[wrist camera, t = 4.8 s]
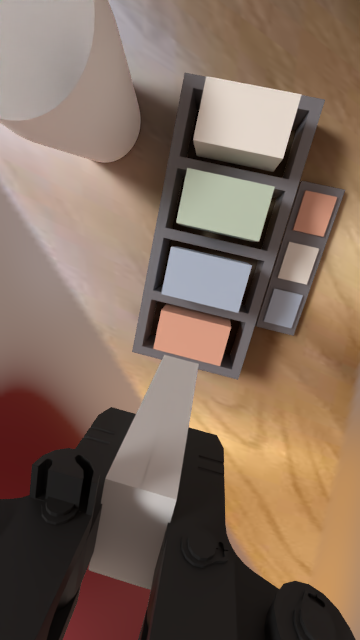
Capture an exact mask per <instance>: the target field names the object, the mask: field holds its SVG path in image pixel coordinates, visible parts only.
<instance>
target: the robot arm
mask: <svg viewBox="0 0 360 640" xmlns="http://www.w3.org/2000/svg"><path fill="white" fill-rule="evenodd" d="M198 366H199V364H198V363H194V362H190V361H186V360H182V359H178V358H175V357H171V356H167V355H164V357H163V359H162V361H161V363H160V365H159V367H158V369H157V371H156V373H155V376H154V378H153V380H152V382H151V384H150V386H149V388H148V390H147V392H146V394H145V396H144V399H143V401H142V403H141V405H140V407H139V409H138V411H137V413H136V414H134V413H130V412H126V411H123V410H119V409H115V408H112V407H111V408H109V409H108V410H106V411H104V412H103V413H101V414H99V415H98V417H97V418H96V420H95V421H94V422H93V424H92V426H91V428H89V430H88V431H87V433H86V434H85V436H84V438H82V440H81V441H80V443H79V444H78V446H77V447H76V449H70V448H67V449H60V450H55V451H52V452H50V453H48V454H45V455H43V456H42V457H41V458H39V459H38V460H37V461H36V462H35V463H34V464H32V473H31V485H30V495H29V496H26V497H23V498H15V499H0V640H63V637H64V634H65V632H66V629H67V627H68V624H69V622H70V619H71V617H72V614H73V611H74V608H75V606H76V604H77V600H78V596H79V591H80V586H81V582H82V580H83V577H84V575H85V572H86V570H87V567H88V565H89V562H90V565H89V570H90V571H93V572H96V573H99V574H103V575H106V576H109V577H112V578H115V579H118V580H121V581H125V582H128V583H131V584H134V585H137V586H140V587H144V588H147V589H150V590H151V592H150V597H149V602H148V607H147V611H146V614H145V618H144V621H143V625H142V628H141V632H140V635H139V639H138V640H355V638H354V636H353V634H352V632H351V630H350V628H349V626H348V625H347V623H346V622H345V620H344V618H343V617H342V615H341V613H340V612H339V610H338V609H337V608H336V607H335V606H334V605H333V603H332V602H330V600H329V599H328V598H327V597H326V596H325V595H324V594H323V593H321V592H320V591H318V590H316V589H315V588H314V587H312V586H310V585H309V584H305V583H301V582H298V581H293V582H289V583H285V584H283V586H282V587H281V588H280V589H278V588H276V587H275V586H274V585H272V584H271V583H269V582H268V581H266V580H265V579H263V578H262V577H260V576H259V575H258V574H256V573H255V572H253V571H252V570H251V569H249V567H247V566H246V565H245V564H244V563H243V562H242V561H241V559H240V558H239V557H238V556H237V555H236V553H235V552H234V550H233V548H232V546H231V544H230V542H229V540H228V537H227V534H226V526H225V489H224V465H223V464H224V448H223V446H222V444H221V442H220V441H219V439H218V437H217V435H214V434H210V433H206V432H203V431H199V430H196V429H192V428H188V427H189V421H190V415H191V409H192V403H193V396H194V390H195V384H196V378H197V372H198Z"/></svg>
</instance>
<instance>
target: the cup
mask: <svg viewBox="0 0 360 640" xmlns="http://www.w3.org/2000/svg"><path fill="white" fill-rule="evenodd" d="M0 123H1V124H2V125H4V126H5V127H7V128H8V129H9V130H11V131H12V132H14V133H15V134H17V135H19V136H21V137H23V138H25V139H27V140H30V141H32V142H35V143H38V144H41V145H44V146H48V147H51V148H54V149H57V150H61V151H64V152H67V153H70V154H74V155H77V156H80V157H84V158H87V159H90V160H93V161H97V162H103V163H107V162H113V161H116V160H118V159H120V158H122V157H123V156H125V155H126V154H127V153H128V152H129V151H130V150H131V149H132V147H133V146H134V144H135V142H136V140H137V138H138V135H139V131H140V124H141V116H140V109H139V105H138V101H137V97H136V94H135V90H134V86H133V83H132V79H131V75H130V71H129V68H128V64H127V60H126V57H125V53H124V49H123V45H122V42H121V38H120V35H119V31H118V27H117V24H116V21H115V18H114V15H113V12H112V10H111V7H110V5H109V2H108V0H0Z"/></svg>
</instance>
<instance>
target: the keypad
mask: <svg viewBox="0 0 360 640" xmlns="http://www.w3.org/2000/svg"><path fill="white" fill-rule="evenodd" d="M205 80H206V77H205V76H199V75H194V74H189V73H185V74H184V79H183V85H182V90H181V95H180V101H179V106H178V111H177V117H176V122H175V127H174V132H173V138H172V143H171V148H170V154H169V159H168V164H167V170H166V175H165V180H164V186H163V191H162V196H161V202H160V207H159V212H158V218H157V223H156V228H155V233H154V239H153V244H152V249H151V255H150V260H149V265H148V271H147V276H146V281H145V287H144V292H143V297H142V303H141V308H140V313H139V319H138V324H137V329H136V335H135V340H134V345H133V350H132V352H135V353H138V354H142V355H146V356H150V357H154V358H158V359H161V360H162V359H163V357H164V355H167V356H171V357H175V358H178V359H182V360H186V361H190V362H194V363H198V364H199V366H198V369H200V370H203V371H207V372H211V373H215V374H219V375H223V376H226V377H230V378H234V379H238V378H239V375H240V372H241V369H242V365H243V362H244V359H245V356H246V352H247V349H248V346H249V343H250V340H251V336H252V333H253V330H254V327H255V324H256V320H257V317H258V314H259V311H260V307H261V304H262V301H263V298H264V295H265V291H266V288H267V285H268V282H269V278H270V275H271V272H272V269H273V266H274V262H275V259H276V256H277V253H278V250H279V246H280V243H281V240H282V237H283V233H284V230H285V227H286V224H287V221H288V217H289V214H290V211H291V208H292V204H293V201H294V198H295V195H296V192H297V188H298V185H299V182H300V179H301V175H302V172H303V169H304V166H305V163H306V159H307V156H308V153H309V150H310V147H311V143H312V140H313V137H314V134H315V130H316V127H317V124H318V121H319V118H320V114H321V111H322V108H323V105H324V101H325V100H324V99H319V98H314V97H309V96H303V95H301V98H300V102H299V105H298V109H297V112H296V115H295V119H294V122H293V126H292V129H294V130H296V133H295V136H294V140H293V143H292V146H291V150H290V153H289V157H288V160H287V163H286V167H285V170H284V174H283V177H282V178H279V177H274V176H270V175H265V174H260V173H256V172H251V171H246V170H242V169H237V168H232V167H227V166H223V165H218V164H213V163H209V162H204V161H199V160H194V159H190V158H187V154H188V150H189V145H190V140H191V135H192V130H193V125H194V120H195V115H196V110H199V109H200V104H201V99H202V94H203V89H204V85H205ZM187 168H190V169H195V170H200V171H204V172H209V173H214V174H218V175H223V176H228V177H232V178H237V179H242V180H246V181H251V182H256V183H260V184H265V185H269V186H274V187H275V188H274V191H273V195H272V197H273V198H276V201H275V204H274V208H273V211H272V214H271V218H270V221H269V225H268V228H267V231H266V235H265V238H264V242H263V245H262V248H261V249H256V248H252V247H248V246H243V245H239V244H235V243H230V242H226V241H222V240H217V239H213V238H208V237H204V236H200V235H195V234H191V233H187V232H182V231H178V230H174V229H172V228H173V223H174V218H175V213H176V208H177V203H178V199H179V194H180V189H181V184H182V179H183V178H185V177H186V172H187ZM170 239H172V240H176V241H180V242H185V243H189V244H193V245H198V246H202V247H206V248H210V249H215V250H219V251H223V252H228V253H232V254H236V255H241V256H245V257H249V258H253V259H258V262H257V265H256V269H255V272H254V276H253V279H252V282H251V286H250V289H249V293H248V296H247V300H246V303H245V305H240V309H239V312H238V313H236V312H232V311H228V310H224V309H220V308H216V307H212V306H208V305H204V304H200V303H196V302H192V301H187V300H183V299H179V298H175V297H171V296H167V295H163V294H161V293H162V288H163V285H161V282H162V277H163V272H164V267H165V262H166V257H167V252H168V248H169V243H170ZM157 301H160V302H164V303H169V304H173V305H177V306H181V307H185V308H189V309H193V310H197V311H201V312H205V313H209V314H213V315H217V316H221V317H225V318H229V319H233V320H237V321H240V323H239V327H238V330H237V334H236V337H235V340H234V344H233V347H232V351H231V354H230V355H228V354H223V358H222V361H221V365H220V366H217V365H213V364H210V363H206V362H202V361H198V360H194V359H190V358H187V357H183V356H179V355H175V354H171V353H167V352H163V351H160V350H156V349H153V347H154V343H155V338H156V336H154V335H151V331H152V326H153V321H154V316H155V311H156V306H157Z"/></svg>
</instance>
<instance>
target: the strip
mask: <svg viewBox="0 0 360 640" xmlns="http://www.w3.org/2000/svg"><path fill="white" fill-rule="evenodd" d="M344 192H345V190H343V189H338V188H334V187H329V186H324V185H319V184H315V183H310V182H305V181H301V182H299V186H298V189H297V192H296V195H295V198H294V202H293V205H292V208H291V211H290V215H289V218H288V221H287V224H286V227H285V231H284V234H283V237H282V240H281V244H280V247H279V250H278V253H277V256H276V260H275V263H274V266H273V269H272V272H271V276H270V279H269V282H268V285H267V289H266V292H265V295H264V298H263V301H262V305H261V308H260V311H259V314H258V318H257V321H256V324H255V325H256V326H257V327H261V328H265V329H269V330H273V331H277V332H281V333H285V334H289V335H293V336H294V333H295V330H296V327H297V324H298V321H299V319H300V316H301V313H302V310H303V307H304V305H305V302H306V299H307V296H308V293H309V290H310V288H311V285H312V282H313V279H314V276H315V274H316V271H317V268H318V265H319V262H320V259H321V257H322V254H323V251H324V248H325V245H326V243H327V240H328V237H329V234H330V231H331V228H332V226H333V223H334V220H335V217H336V214H337V211H338V209H339V206H340V203H341V200H342V197H343V195H344Z"/></svg>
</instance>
